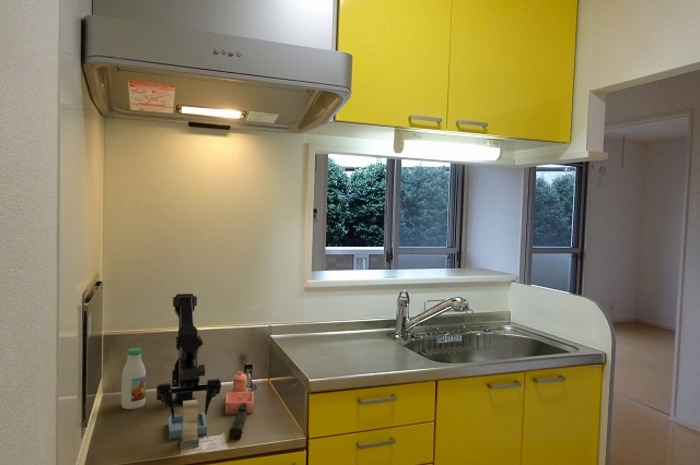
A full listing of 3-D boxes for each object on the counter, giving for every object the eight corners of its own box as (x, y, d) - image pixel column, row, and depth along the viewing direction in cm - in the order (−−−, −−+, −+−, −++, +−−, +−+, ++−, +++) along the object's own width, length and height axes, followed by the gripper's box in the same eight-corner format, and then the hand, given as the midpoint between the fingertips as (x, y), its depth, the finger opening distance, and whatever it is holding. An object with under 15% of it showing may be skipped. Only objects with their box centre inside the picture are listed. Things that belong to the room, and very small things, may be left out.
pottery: (253, 413, 167) (254, 385, 166) (225, 414, 165) (225, 386, 164) (252, 393, 184) (253, 368, 184) (227, 394, 182) (227, 369, 182)
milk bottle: (121, 411, 164) (122, 353, 163) (120, 402, 171) (121, 347, 170) (146, 407, 167) (147, 351, 166) (144, 399, 174) (145, 345, 173)
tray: (168, 424, 156) (168, 416, 156) (203, 419, 160) (203, 412, 160) (169, 439, 146) (169, 431, 145) (206, 434, 150) (207, 426, 150)
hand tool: (241, 440, 147) (242, 426, 147) (228, 440, 147) (228, 425, 147) (252, 414, 166) (253, 401, 166) (240, 414, 166) (241, 401, 166)
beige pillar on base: (180, 441, 145) (181, 400, 144) (197, 438, 147) (198, 398, 146) (180, 449, 140) (181, 407, 140) (198, 446, 142) (199, 405, 142)
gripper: (157, 358, 144) (156, 408, 134) (221, 353, 151) (224, 401, 141) (156, 375, 152) (156, 424, 142) (217, 370, 159) (220, 416, 149)
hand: (189, 416), depth 143 cm, fingers open, 9 cm apart
